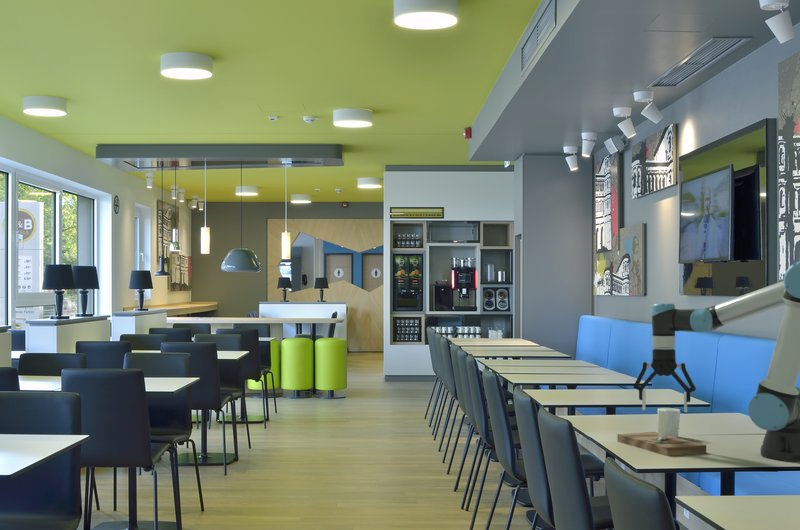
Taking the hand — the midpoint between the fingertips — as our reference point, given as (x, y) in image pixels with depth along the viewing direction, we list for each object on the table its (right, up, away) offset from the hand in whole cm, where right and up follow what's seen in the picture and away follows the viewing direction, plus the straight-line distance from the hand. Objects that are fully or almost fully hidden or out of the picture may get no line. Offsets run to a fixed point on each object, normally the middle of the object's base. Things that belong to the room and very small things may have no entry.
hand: (664, 410), depth 284 cm
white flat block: (-2, -9, -2) cm, 10 cm away
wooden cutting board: (-2, -12, 0) cm, 12 cm away
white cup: (+8, -13, +20) cm, 25 cm away
